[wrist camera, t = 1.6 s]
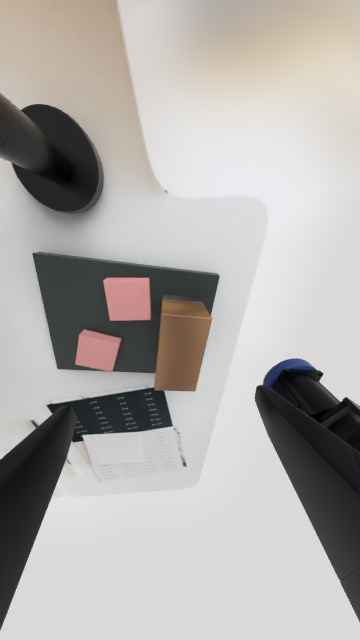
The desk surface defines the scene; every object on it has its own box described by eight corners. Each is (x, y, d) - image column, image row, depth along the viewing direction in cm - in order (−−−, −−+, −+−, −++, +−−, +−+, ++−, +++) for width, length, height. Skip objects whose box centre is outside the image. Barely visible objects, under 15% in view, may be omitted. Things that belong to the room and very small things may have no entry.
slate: (217, 273, 18) (219, 275, 17) (196, 369, 24) (197, 375, 23) (39, 251, 16) (32, 253, 15) (61, 363, 22) (57, 369, 21)
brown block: (200, 297, 18) (212, 318, 14) (188, 359, 22) (195, 391, 17) (162, 294, 18) (161, 314, 13) (156, 357, 21) (154, 390, 17)
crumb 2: (149, 277, 17) (148, 280, 16) (151, 315, 19) (150, 320, 18) (106, 277, 17) (102, 280, 15) (113, 315, 18) (109, 321, 17)
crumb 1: (121, 338, 20) (119, 344, 18) (114, 365, 21) (112, 372, 20) (84, 328, 19) (79, 334, 18) (79, 357, 20) (74, 364, 19)
